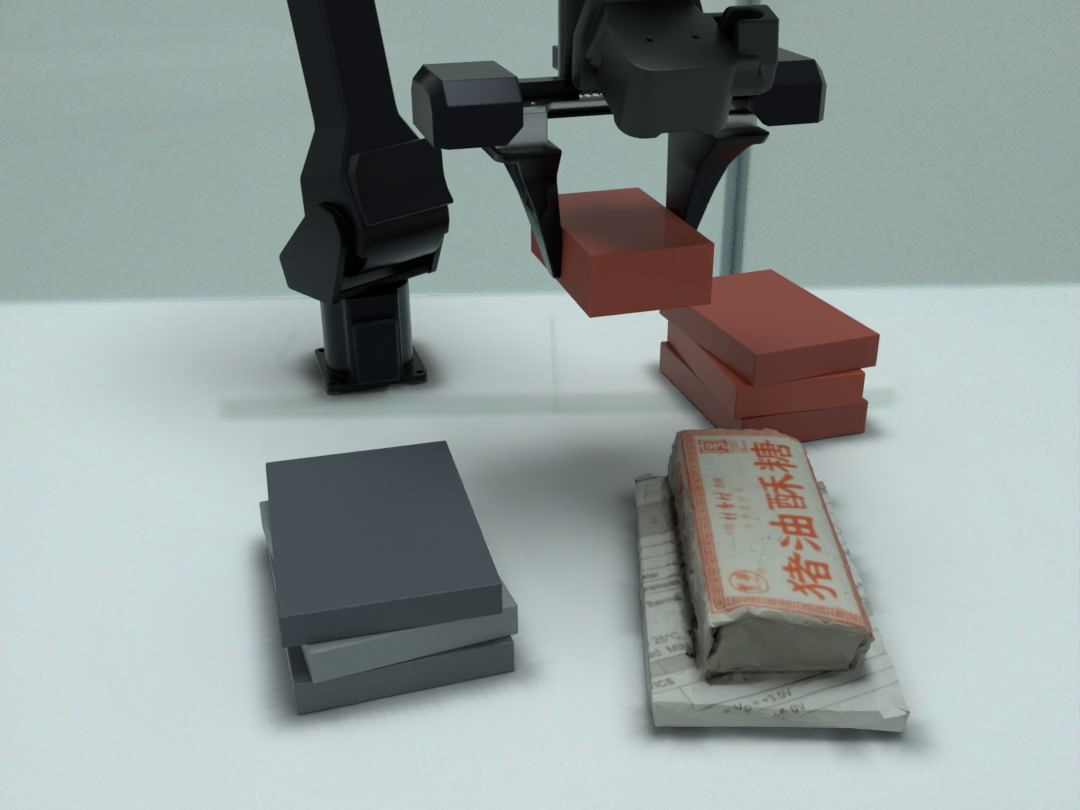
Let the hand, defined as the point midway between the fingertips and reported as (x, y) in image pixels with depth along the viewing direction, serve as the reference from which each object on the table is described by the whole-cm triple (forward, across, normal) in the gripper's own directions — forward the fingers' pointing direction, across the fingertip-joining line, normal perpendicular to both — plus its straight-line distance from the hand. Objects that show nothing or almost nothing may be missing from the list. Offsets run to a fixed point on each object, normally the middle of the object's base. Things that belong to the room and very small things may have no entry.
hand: (615, 269), depth 57 cm
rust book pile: (+12, +12, +7) cm, 18 cm away
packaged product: (+12, +2, -12) cm, 18 cm away
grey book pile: (+12, -14, -8) cm, 20 cm away
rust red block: (0, 0, 0) cm, 0 cm away
